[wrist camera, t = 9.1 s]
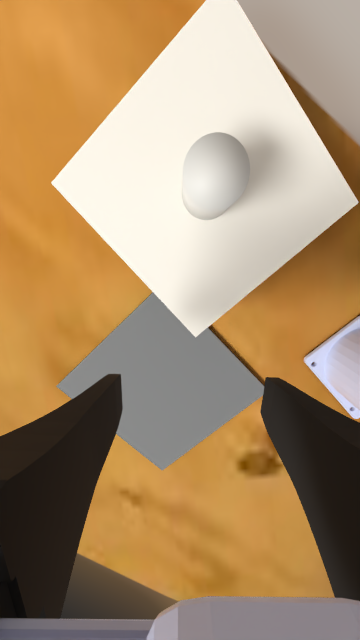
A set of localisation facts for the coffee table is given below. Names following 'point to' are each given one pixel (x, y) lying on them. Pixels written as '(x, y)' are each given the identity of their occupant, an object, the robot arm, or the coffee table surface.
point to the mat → (167, 382)
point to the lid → (207, 170)
